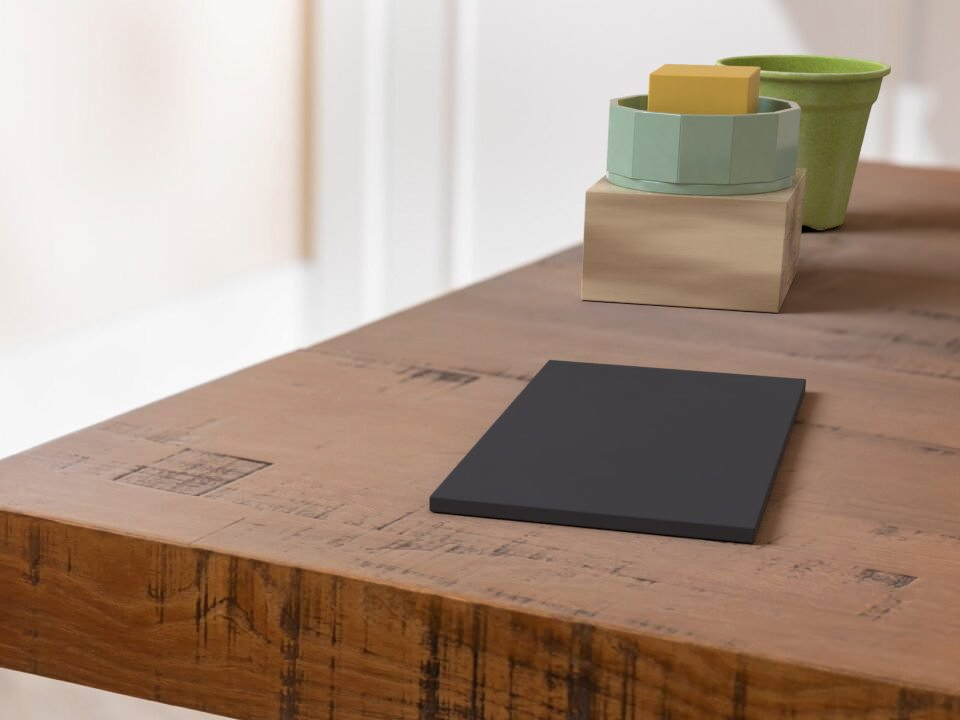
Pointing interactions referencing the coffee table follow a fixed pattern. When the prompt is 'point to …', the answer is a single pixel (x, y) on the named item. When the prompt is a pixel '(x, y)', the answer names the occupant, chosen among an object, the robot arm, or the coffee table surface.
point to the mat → (631, 451)
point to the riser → (692, 247)
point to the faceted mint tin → (702, 149)
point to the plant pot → (823, 121)
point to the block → (704, 89)
